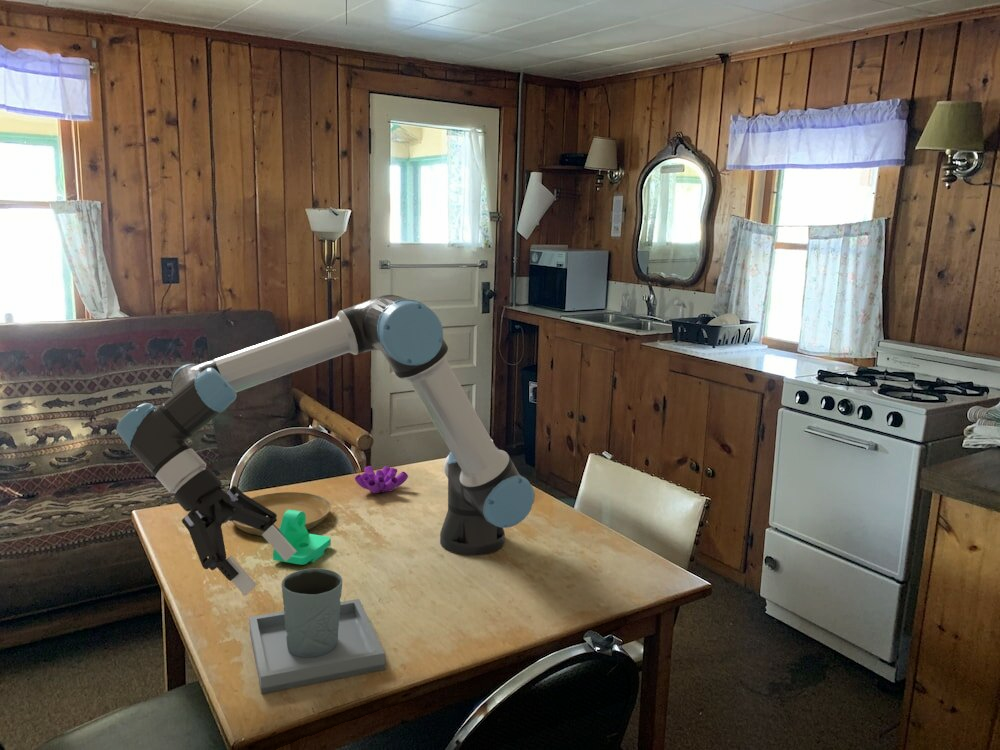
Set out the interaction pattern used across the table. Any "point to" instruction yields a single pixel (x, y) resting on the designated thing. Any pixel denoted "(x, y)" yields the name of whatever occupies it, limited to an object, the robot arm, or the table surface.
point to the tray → (288, 671)
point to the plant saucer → (291, 508)
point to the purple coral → (380, 479)
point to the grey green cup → (312, 611)
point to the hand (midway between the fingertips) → (272, 572)
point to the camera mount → (301, 539)
